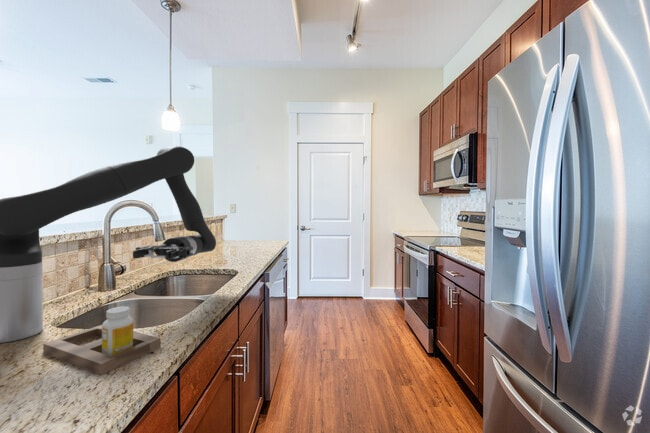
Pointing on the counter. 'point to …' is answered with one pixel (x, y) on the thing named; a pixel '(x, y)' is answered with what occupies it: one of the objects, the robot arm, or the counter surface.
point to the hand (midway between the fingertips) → (151, 254)
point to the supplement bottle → (117, 331)
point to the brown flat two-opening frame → (98, 350)
